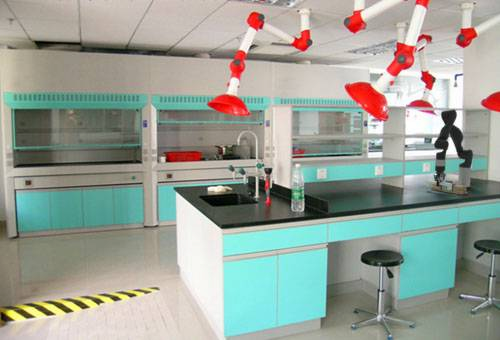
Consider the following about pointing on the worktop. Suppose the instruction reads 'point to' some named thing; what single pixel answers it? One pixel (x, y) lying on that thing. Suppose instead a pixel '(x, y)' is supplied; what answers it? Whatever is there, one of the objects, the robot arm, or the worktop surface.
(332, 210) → the worktop surface
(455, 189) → the display stand
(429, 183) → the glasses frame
